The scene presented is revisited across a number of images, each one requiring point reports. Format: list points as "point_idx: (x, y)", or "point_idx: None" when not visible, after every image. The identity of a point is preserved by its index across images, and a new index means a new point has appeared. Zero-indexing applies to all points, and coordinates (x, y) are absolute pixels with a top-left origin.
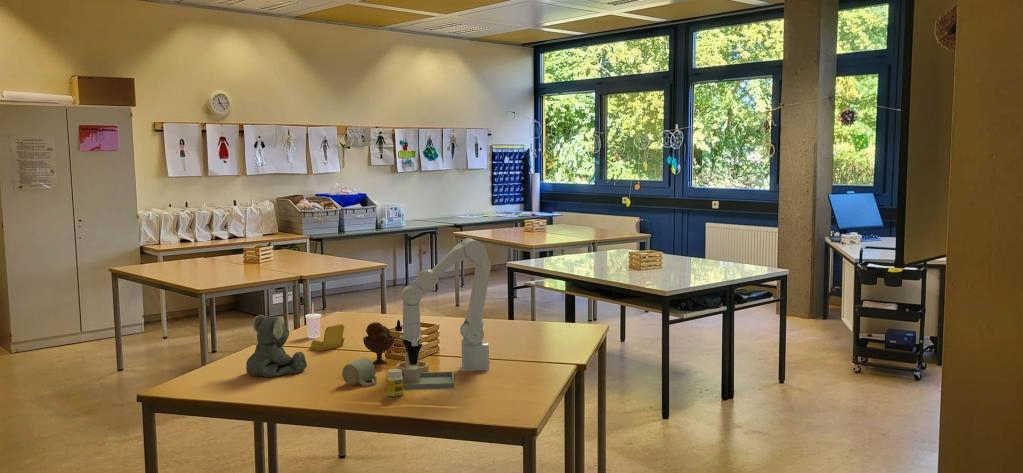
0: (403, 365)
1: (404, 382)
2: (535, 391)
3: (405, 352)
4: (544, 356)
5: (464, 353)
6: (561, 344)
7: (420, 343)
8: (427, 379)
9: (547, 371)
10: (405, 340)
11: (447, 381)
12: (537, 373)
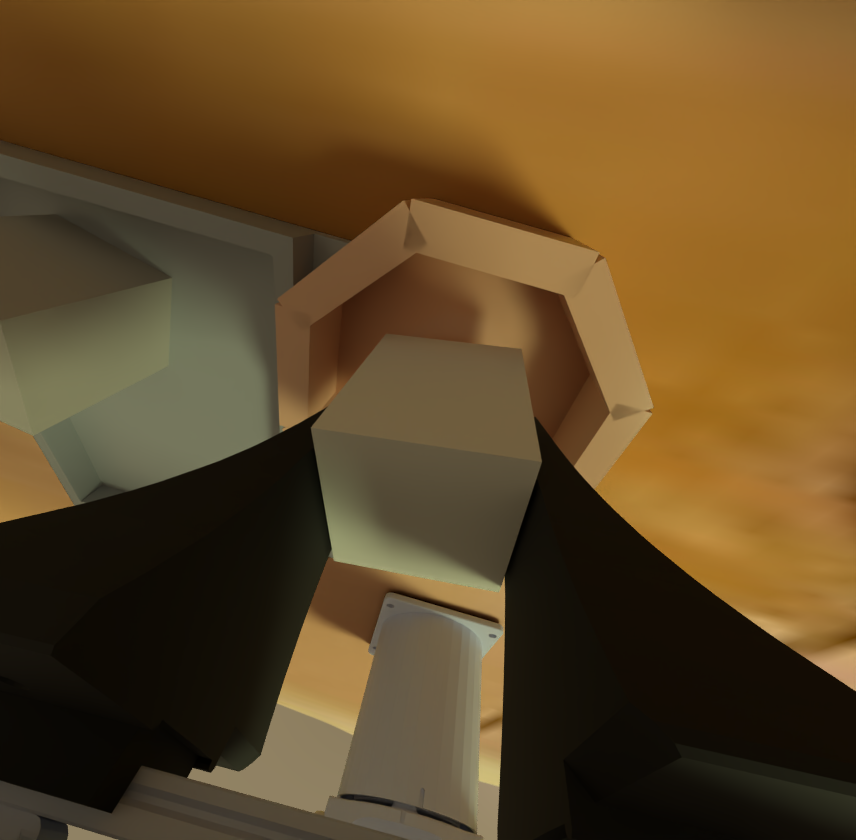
0: (578, 340)
1: (31, 217)
2: None
3: (487, 457)
4: (492, 758)
5: (384, 715)
6: None
7: (232, 767)
8: (226, 422)
9: (331, 707)
10: (746, 817)
11: None
12: (315, 692)
